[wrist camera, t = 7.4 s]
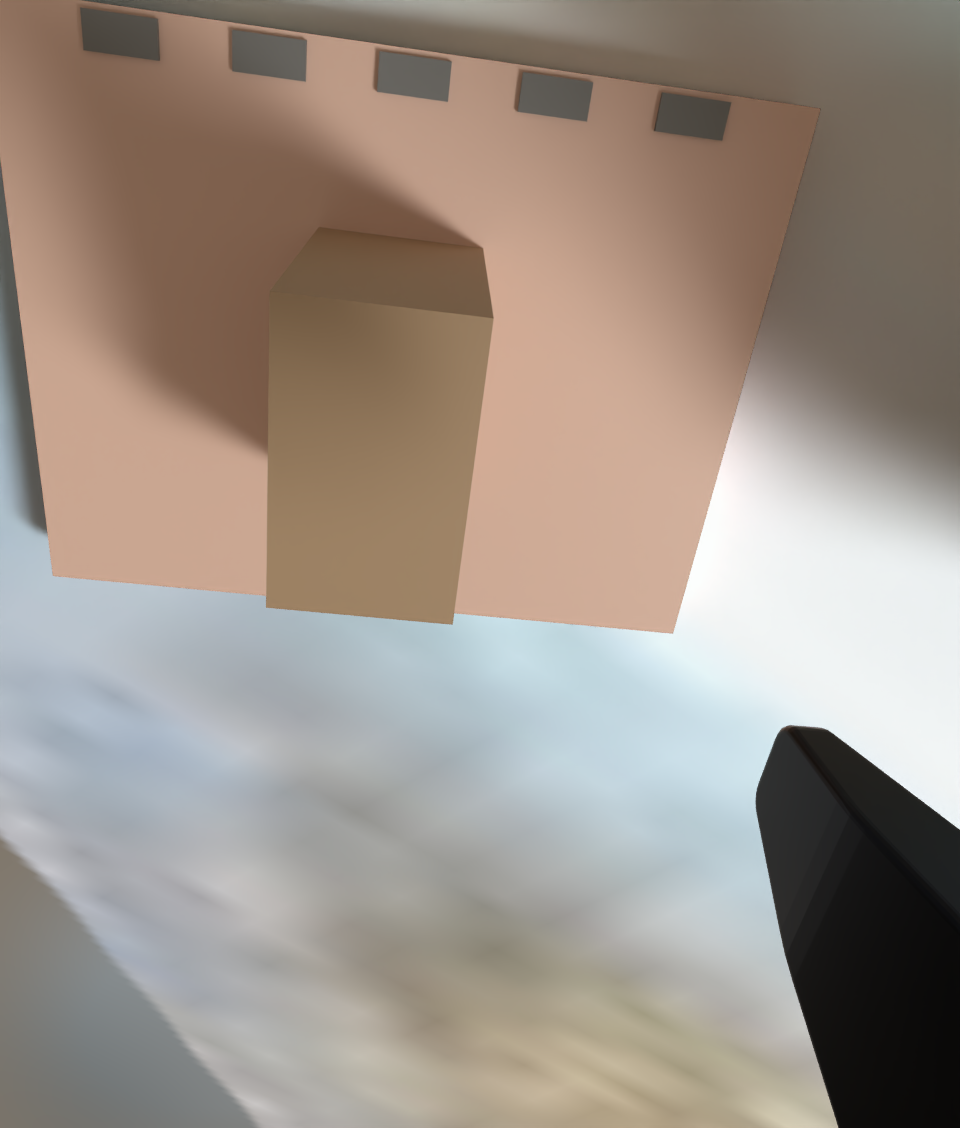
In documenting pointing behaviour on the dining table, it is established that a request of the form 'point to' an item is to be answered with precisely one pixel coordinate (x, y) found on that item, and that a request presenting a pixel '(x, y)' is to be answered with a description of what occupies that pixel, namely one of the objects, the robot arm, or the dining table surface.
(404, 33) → the dining table surface
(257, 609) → the dining table surface
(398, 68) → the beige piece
